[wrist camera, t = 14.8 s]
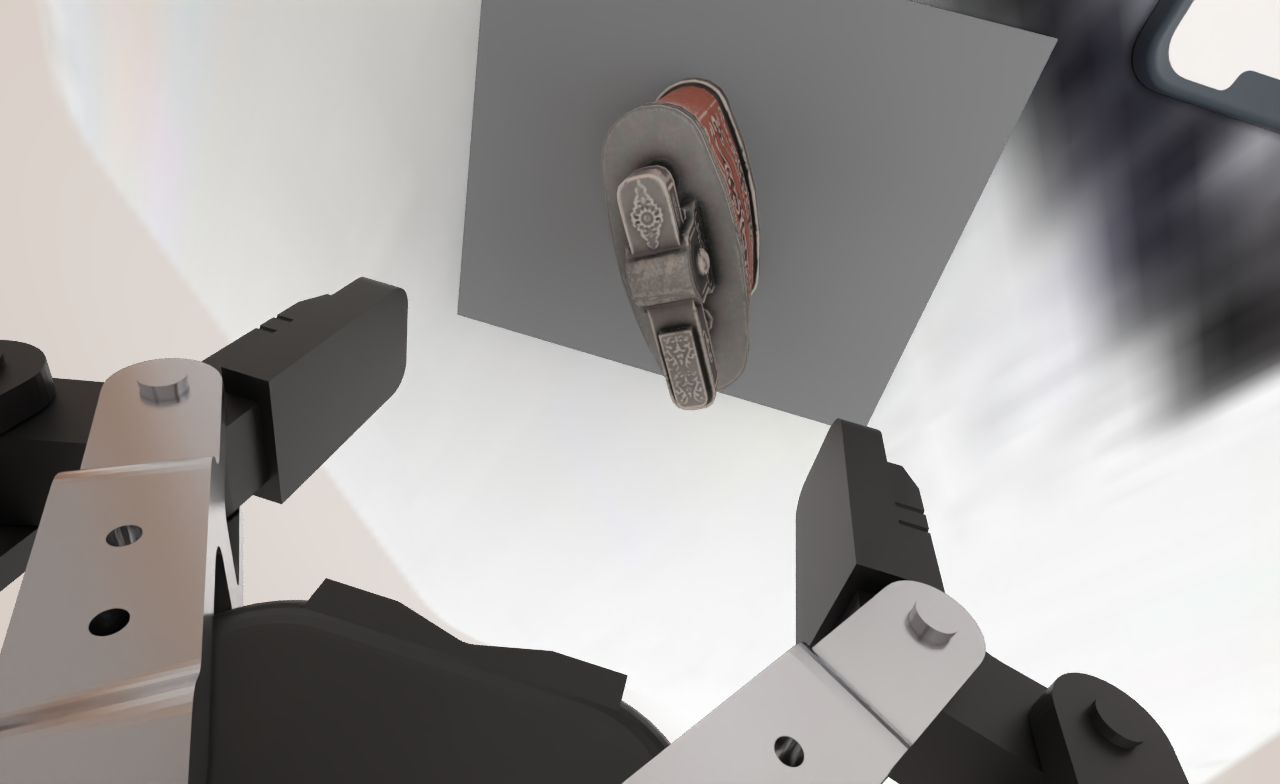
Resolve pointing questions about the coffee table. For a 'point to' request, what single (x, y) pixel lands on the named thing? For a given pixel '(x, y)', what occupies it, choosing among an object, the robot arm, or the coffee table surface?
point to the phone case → (1215, 56)
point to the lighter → (686, 234)
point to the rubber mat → (780, 161)
